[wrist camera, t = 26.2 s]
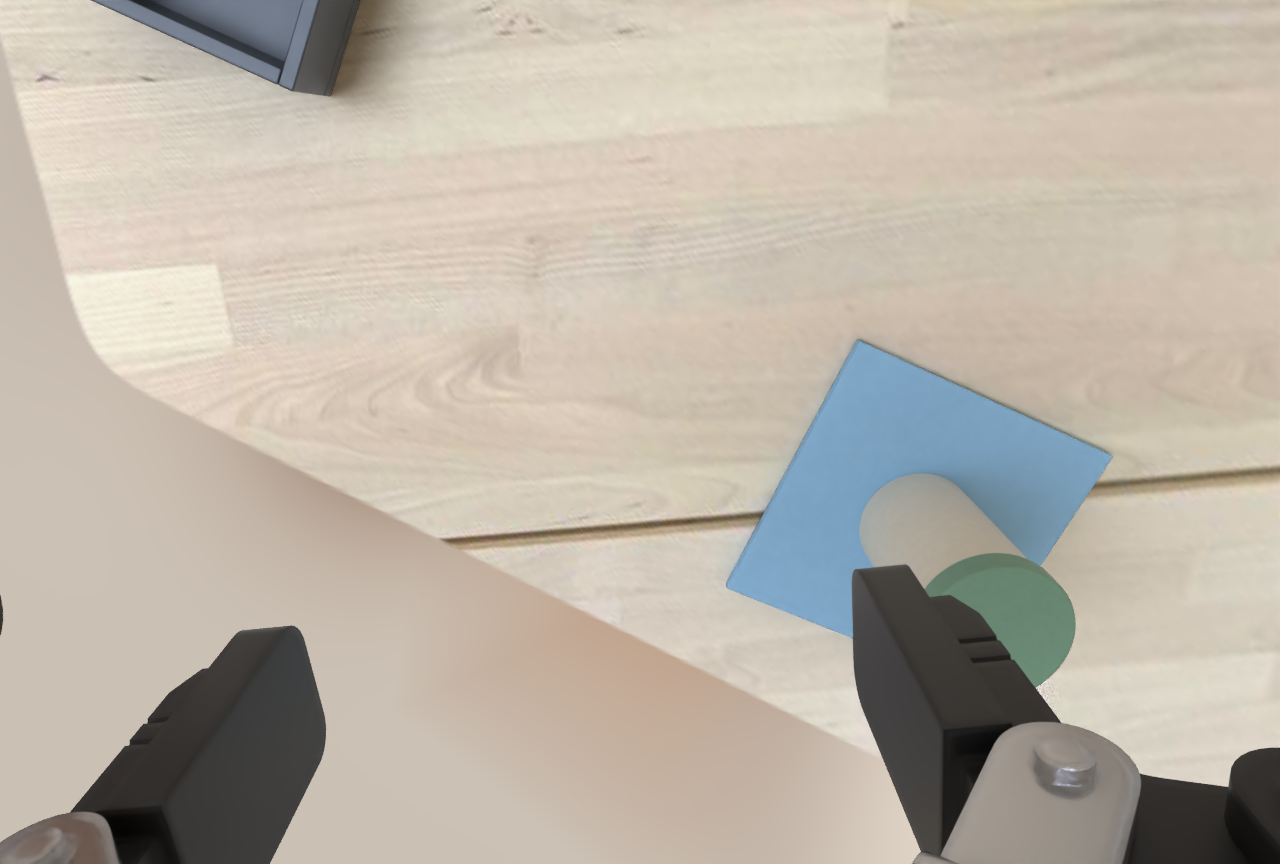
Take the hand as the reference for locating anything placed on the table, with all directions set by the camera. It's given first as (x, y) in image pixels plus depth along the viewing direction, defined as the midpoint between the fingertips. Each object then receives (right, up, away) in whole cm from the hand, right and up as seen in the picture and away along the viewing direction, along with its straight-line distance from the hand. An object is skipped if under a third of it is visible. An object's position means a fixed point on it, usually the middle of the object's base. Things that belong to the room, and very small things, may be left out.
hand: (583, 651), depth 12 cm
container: (+14, -1, +30) cm, 33 cm away
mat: (+14, -1, +30) cm, 34 cm away
